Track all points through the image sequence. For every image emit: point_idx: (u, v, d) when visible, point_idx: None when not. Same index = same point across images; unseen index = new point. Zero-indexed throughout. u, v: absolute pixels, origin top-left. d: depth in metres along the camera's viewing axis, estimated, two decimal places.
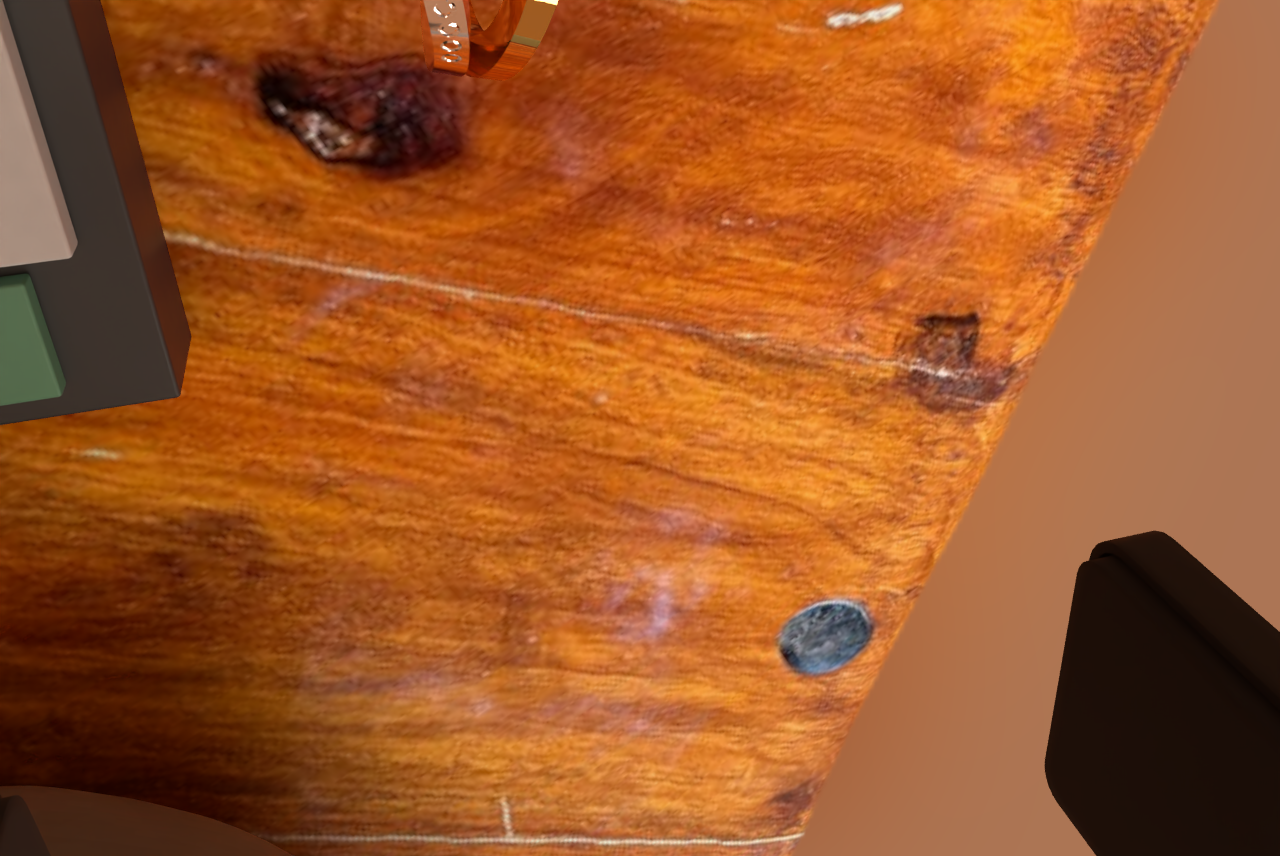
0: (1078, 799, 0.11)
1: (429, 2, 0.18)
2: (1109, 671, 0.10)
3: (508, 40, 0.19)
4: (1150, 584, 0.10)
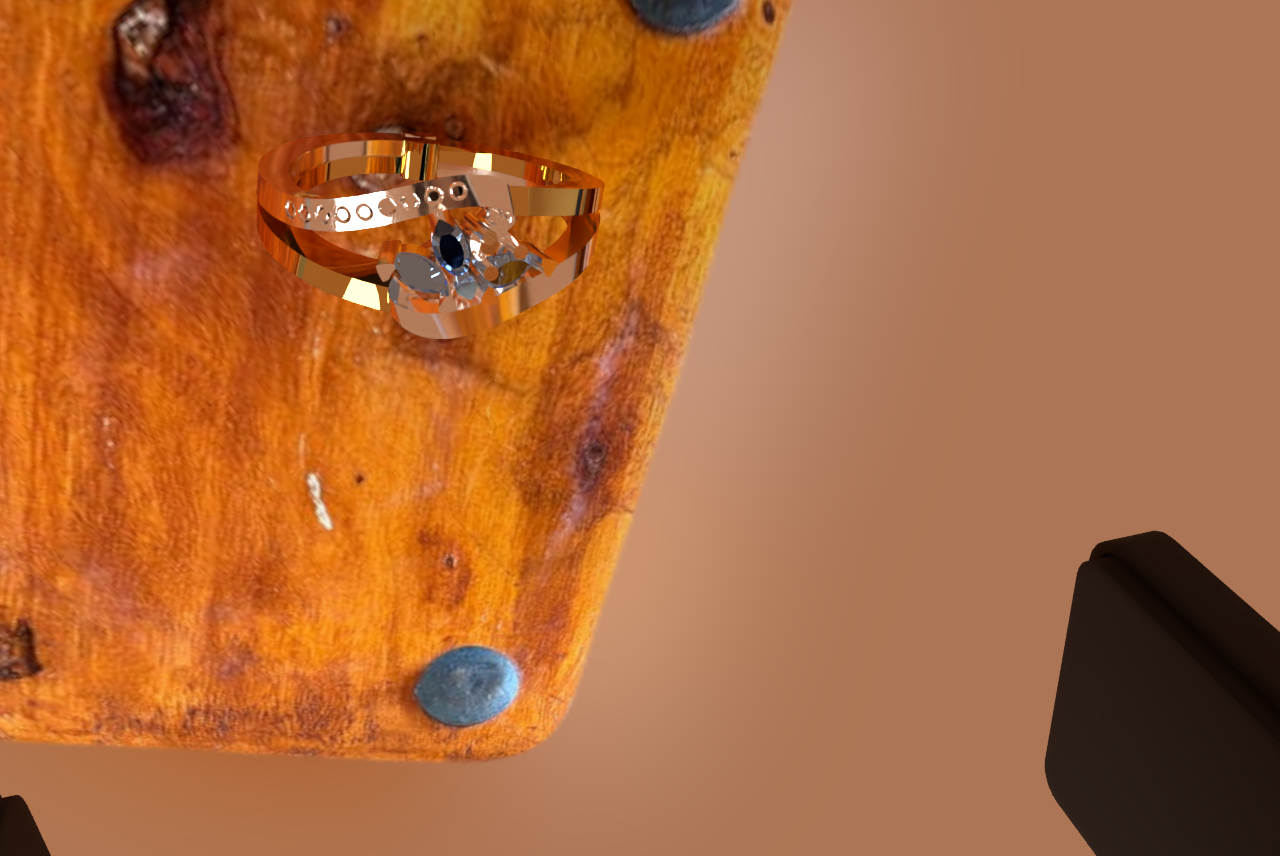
0: (1077, 799, 0.11)
1: (347, 201, 0.20)
2: (1109, 671, 0.10)
3: (312, 258, 0.22)
4: (1150, 584, 0.10)
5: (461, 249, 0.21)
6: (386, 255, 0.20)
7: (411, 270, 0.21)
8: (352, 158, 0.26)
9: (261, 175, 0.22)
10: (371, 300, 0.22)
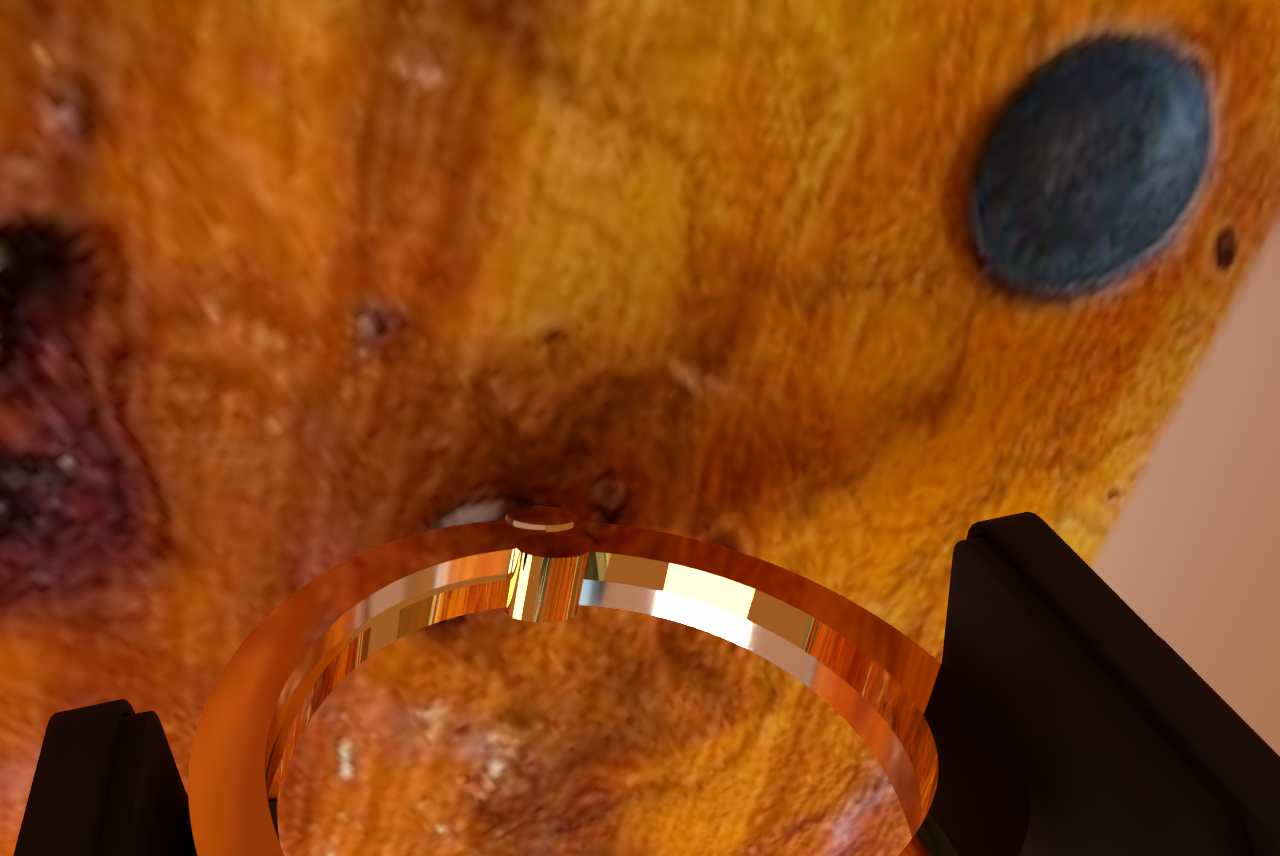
0: None
1: None
2: (981, 647, 0.11)
3: None
4: (1014, 562, 0.10)
5: None
6: None
7: None
8: (409, 604, 0.12)
9: (193, 826, 0.09)
10: None
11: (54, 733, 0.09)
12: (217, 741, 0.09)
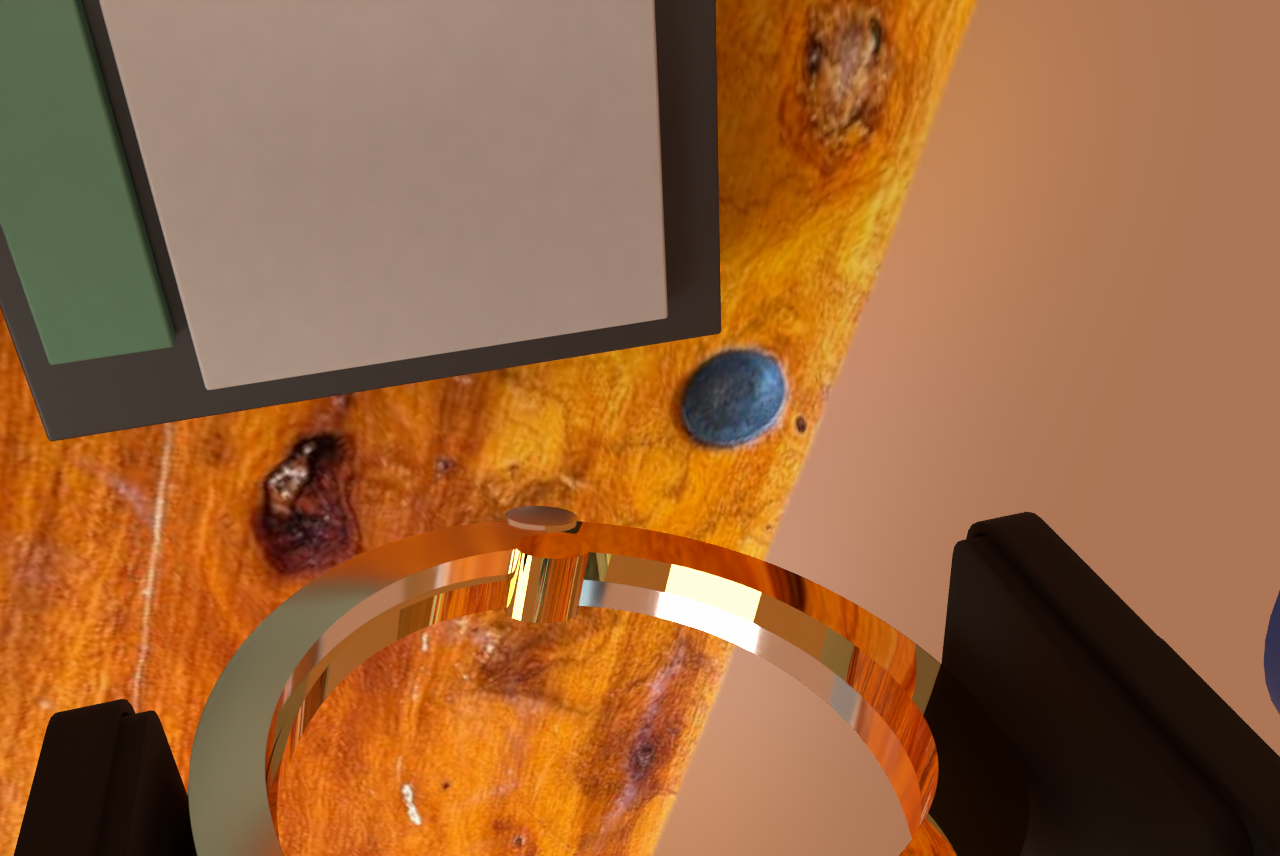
0: None
1: None
2: (980, 647, 0.11)
3: None
4: (1014, 562, 0.10)
5: None
6: None
7: None
8: (409, 605, 0.12)
9: (193, 827, 0.09)
10: None
11: (54, 732, 0.09)
12: (217, 742, 0.09)
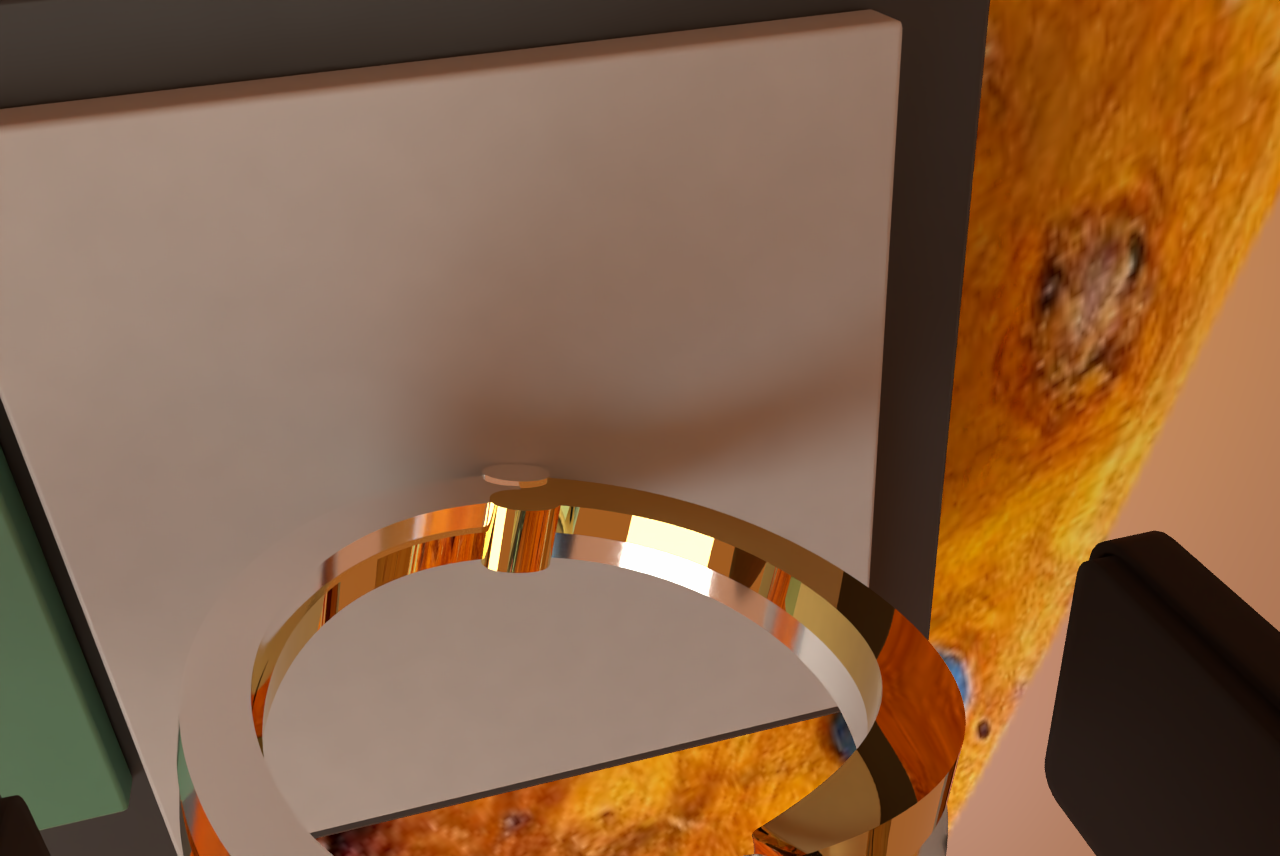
0: (1077, 799, 0.11)
1: None
2: (1109, 671, 0.10)
3: None
4: (1150, 584, 0.10)
5: None
6: None
7: None
8: (389, 554, 0.13)
9: (183, 743, 0.09)
10: None
11: None
12: (206, 670, 0.10)
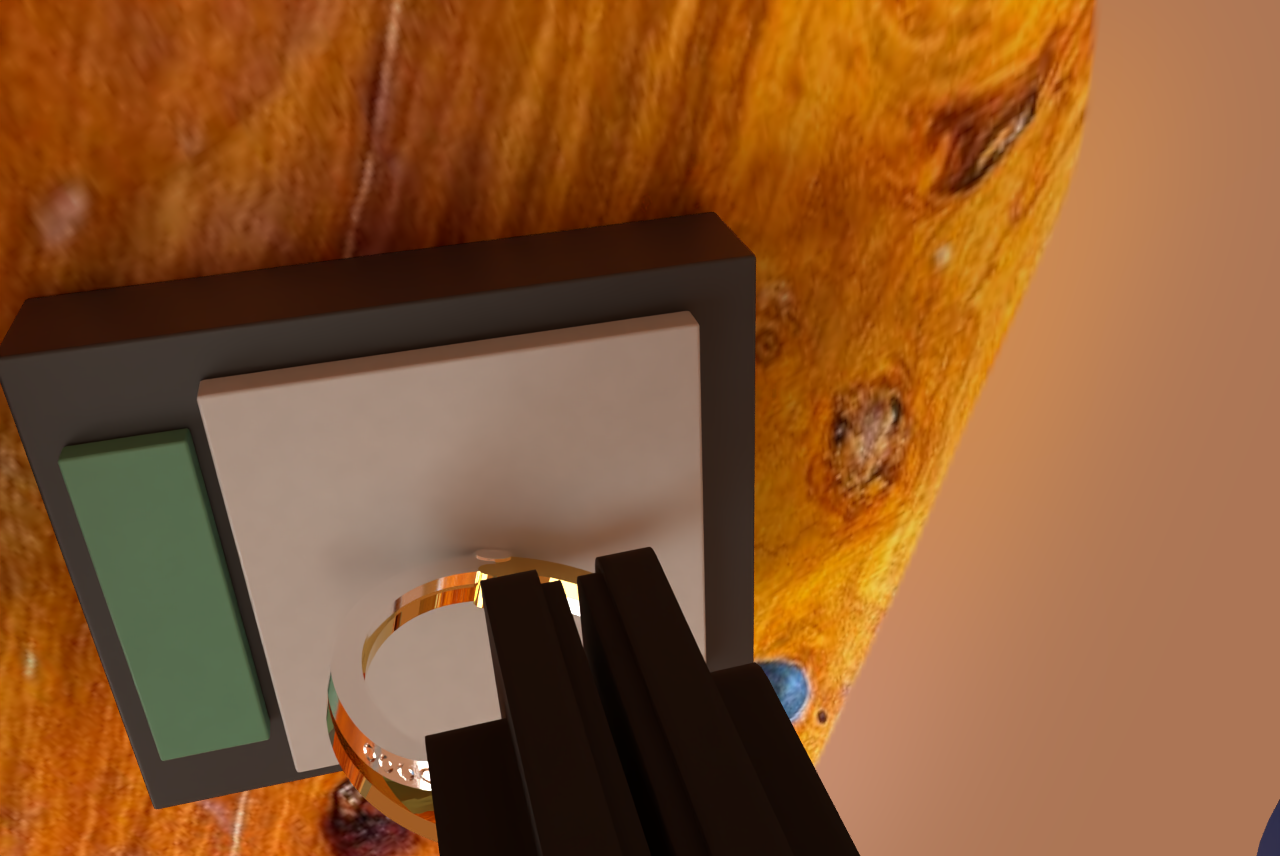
0: None
1: None
2: (597, 684, 0.10)
3: (390, 795, 0.20)
4: (612, 600, 0.10)
5: None
6: None
7: None
8: (424, 598, 0.24)
9: (335, 687, 0.20)
10: None
11: (492, 594, 0.10)
12: (340, 655, 0.21)
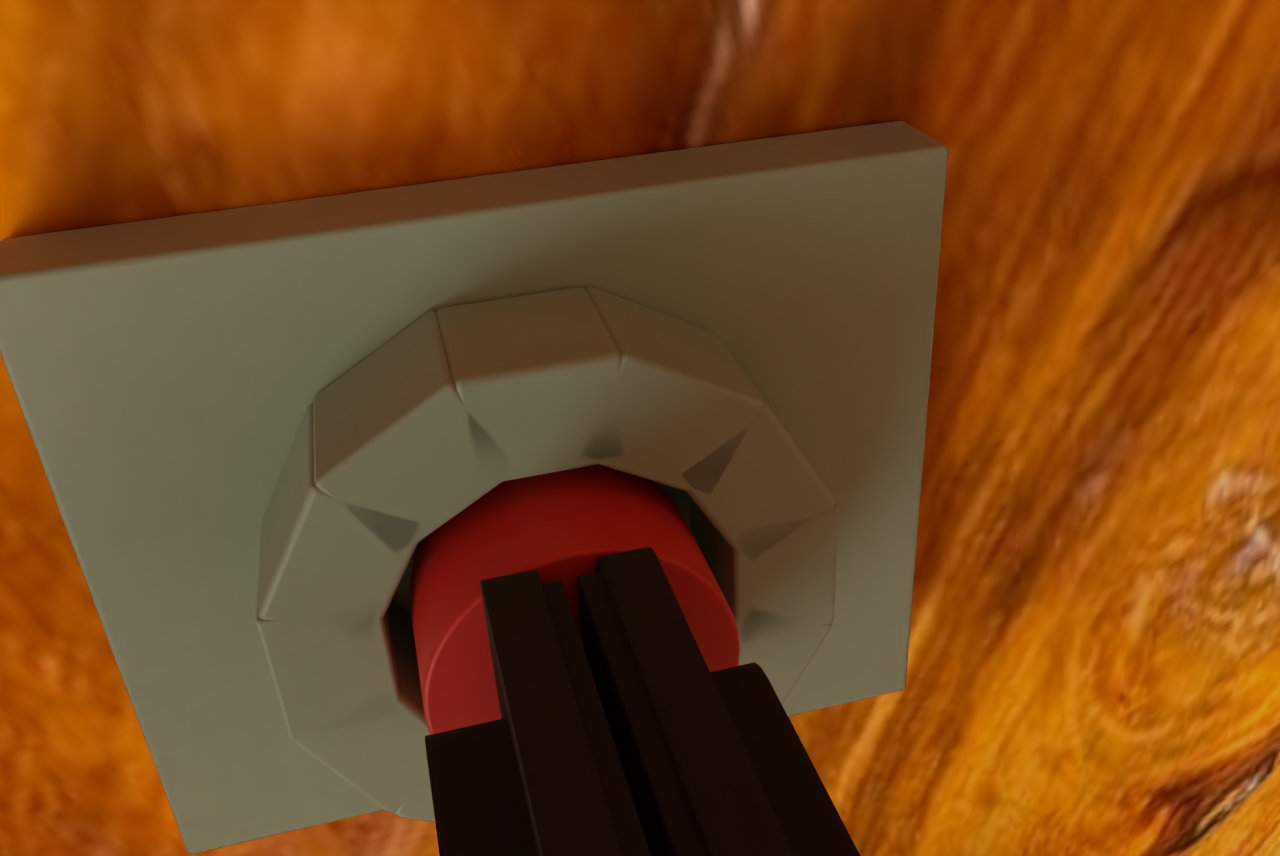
0: None
1: None
2: (597, 684, 0.10)
3: None
4: (612, 599, 0.10)
5: None
6: None
7: None
8: None
9: None
10: None
11: (492, 594, 0.10)
12: None
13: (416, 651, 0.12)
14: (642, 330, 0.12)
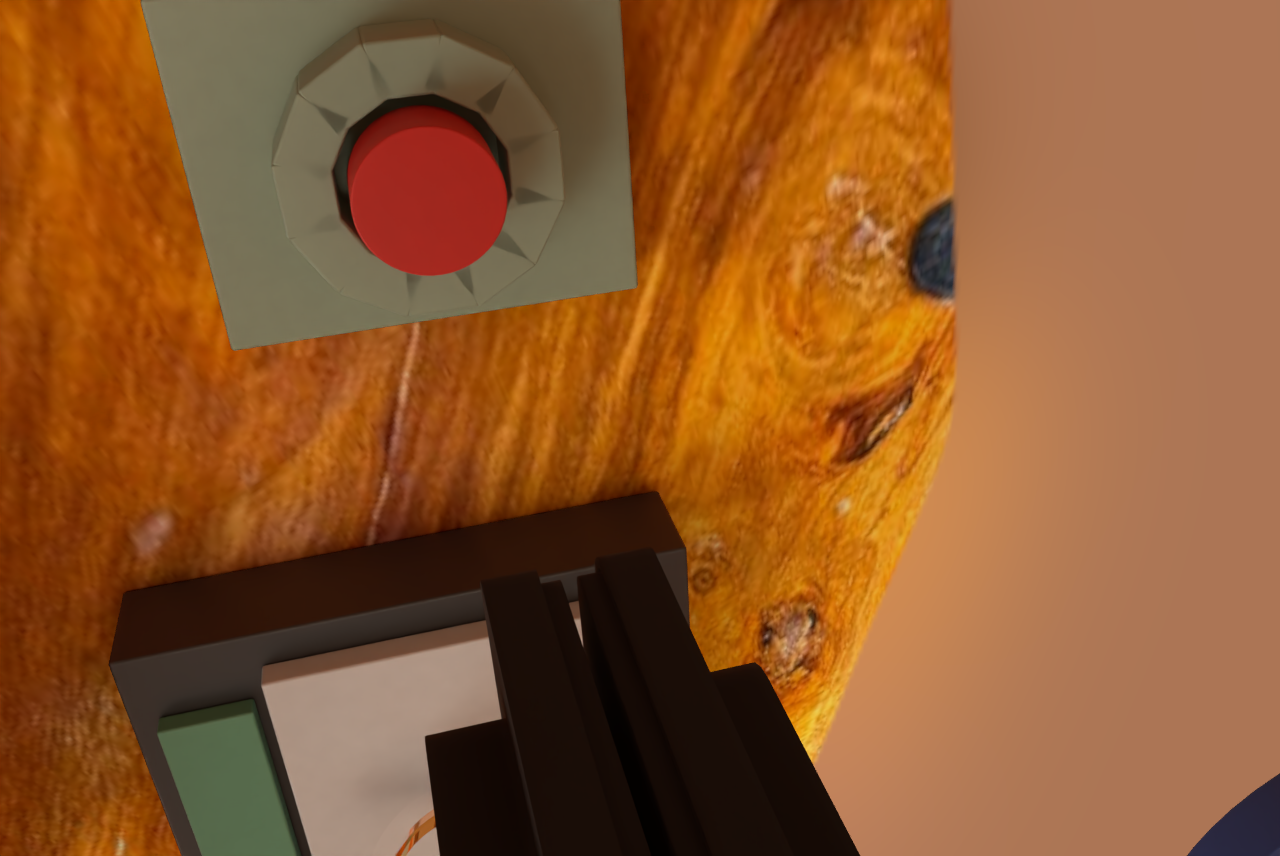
0: None
1: None
2: (597, 685, 0.10)
3: None
4: (612, 600, 0.10)
5: None
6: None
7: None
8: (434, 818, 0.31)
9: None
10: None
11: (492, 594, 0.10)
12: None
13: None
14: (457, 34, 0.24)
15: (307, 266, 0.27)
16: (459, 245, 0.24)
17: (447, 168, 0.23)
